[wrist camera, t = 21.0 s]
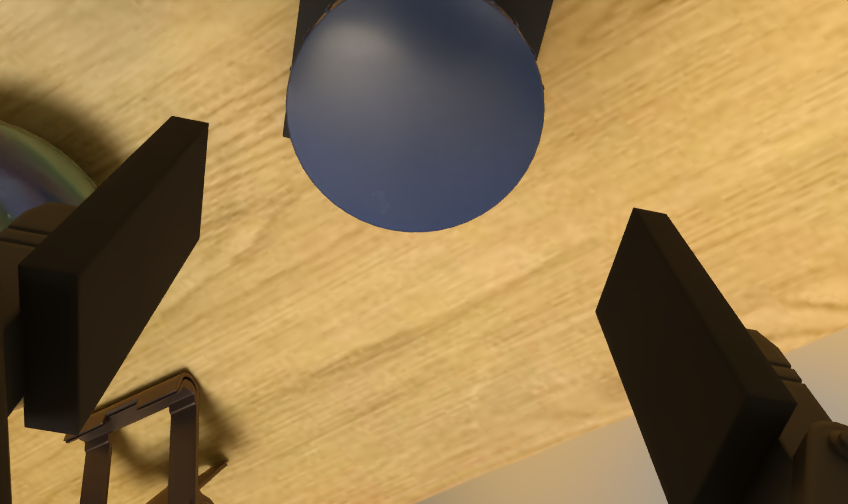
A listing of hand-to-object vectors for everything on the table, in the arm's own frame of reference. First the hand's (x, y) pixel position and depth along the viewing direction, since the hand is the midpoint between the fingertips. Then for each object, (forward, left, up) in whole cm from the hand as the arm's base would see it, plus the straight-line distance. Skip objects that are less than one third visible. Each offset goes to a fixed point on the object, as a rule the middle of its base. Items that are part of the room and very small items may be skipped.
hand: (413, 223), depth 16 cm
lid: (0, 0, -8) cm, 8 cm away
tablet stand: (+29, -11, -24) cm, 39 cm away
